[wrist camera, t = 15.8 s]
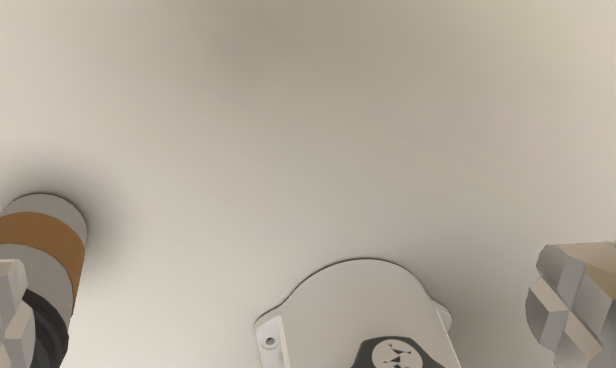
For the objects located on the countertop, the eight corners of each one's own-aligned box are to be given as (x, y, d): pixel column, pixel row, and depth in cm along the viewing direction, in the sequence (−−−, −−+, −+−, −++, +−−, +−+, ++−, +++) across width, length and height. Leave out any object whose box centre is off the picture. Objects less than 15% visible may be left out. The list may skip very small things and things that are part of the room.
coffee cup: (-2, 165, 42) (-95, 290, 29) (113, 195, 45) (75, 323, 32) (-21, 256, 46) (-113, 407, 32) (88, 280, 48) (43, 428, 35)
